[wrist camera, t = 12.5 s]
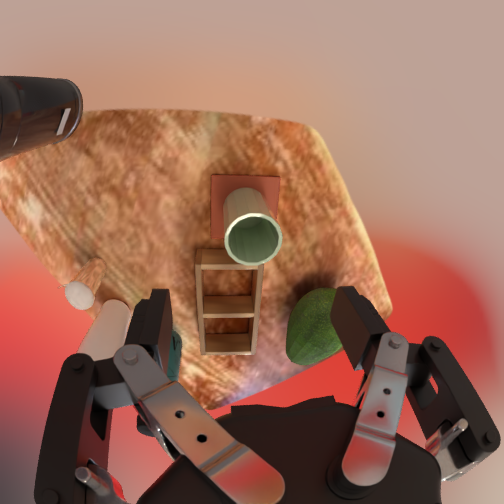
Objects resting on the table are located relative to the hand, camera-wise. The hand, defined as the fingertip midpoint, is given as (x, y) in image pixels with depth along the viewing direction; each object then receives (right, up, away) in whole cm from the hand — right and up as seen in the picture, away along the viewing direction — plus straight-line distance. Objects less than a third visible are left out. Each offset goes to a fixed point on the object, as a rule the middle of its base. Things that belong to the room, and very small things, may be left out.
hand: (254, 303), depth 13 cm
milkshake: (-25, +1, +27) cm, 37 cm away
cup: (-1, +8, +26) cm, 27 cm away
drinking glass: (-23, -7, +32) cm, 40 cm away
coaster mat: (-1, +8, +26) cm, 27 cm away
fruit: (+10, -8, +36) cm, 38 cm away
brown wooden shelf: (-4, -5, +33) cm, 33 cm away
